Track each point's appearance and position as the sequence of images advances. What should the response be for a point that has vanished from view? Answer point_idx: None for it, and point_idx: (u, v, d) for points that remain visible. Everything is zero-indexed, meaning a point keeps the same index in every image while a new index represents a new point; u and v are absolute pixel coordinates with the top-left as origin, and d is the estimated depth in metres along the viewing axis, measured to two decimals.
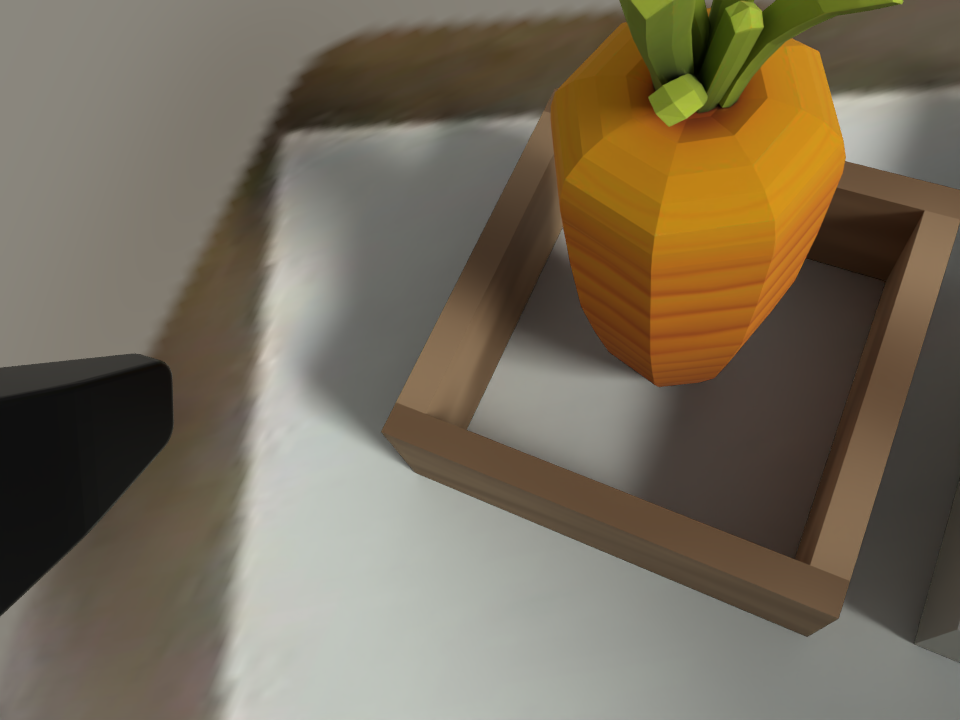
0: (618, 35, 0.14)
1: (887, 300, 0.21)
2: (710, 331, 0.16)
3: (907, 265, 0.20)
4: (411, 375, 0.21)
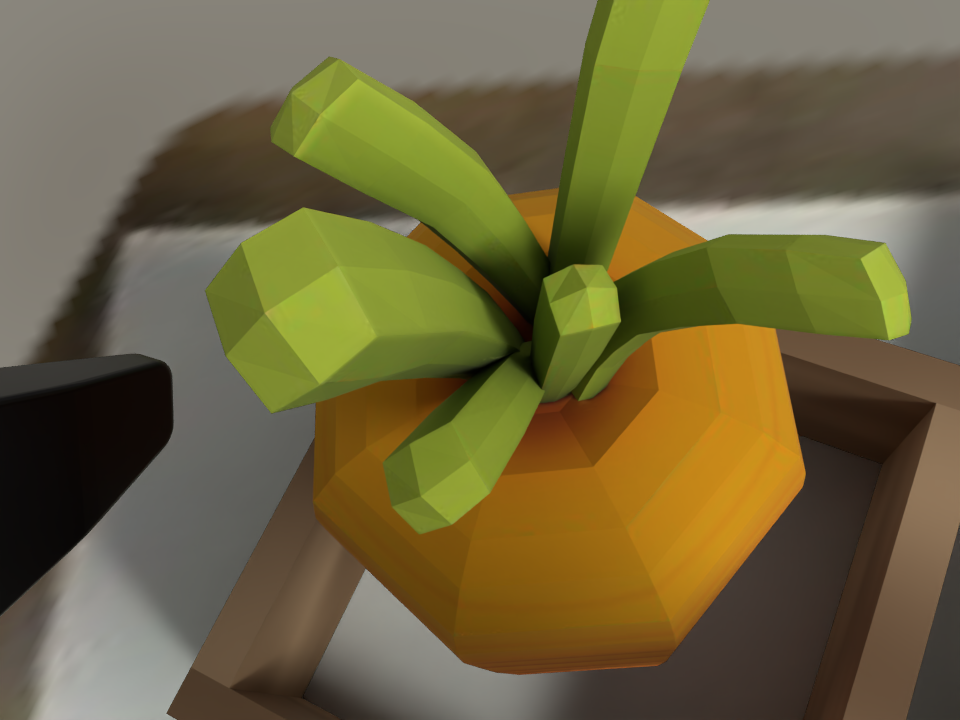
0: (420, 237, 0.08)
1: (883, 515, 0.15)
2: (602, 667, 0.10)
3: (912, 487, 0.14)
4: (216, 625, 0.15)
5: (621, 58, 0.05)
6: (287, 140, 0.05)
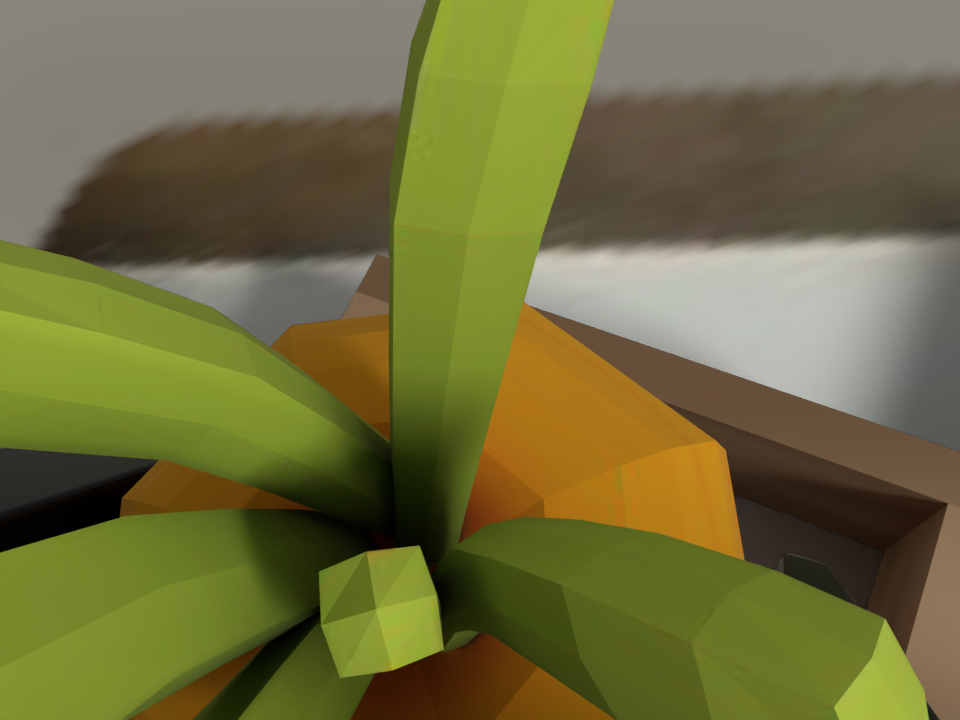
0: None
1: None
2: None
3: (919, 607, 0.12)
4: None
5: (436, 218, 0.03)
6: None
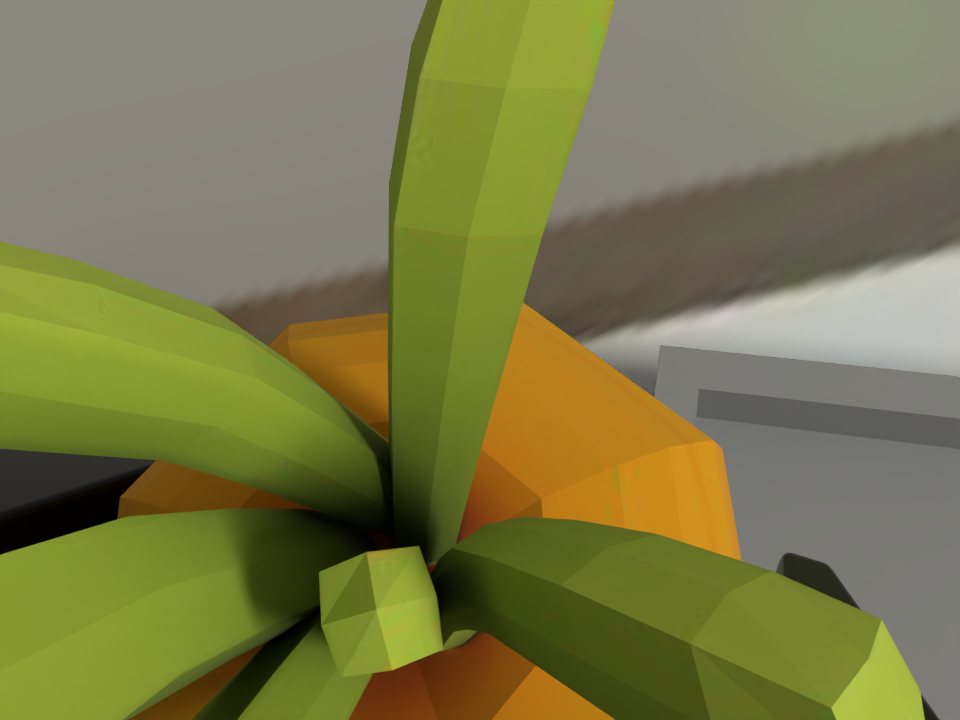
0: None
1: None
2: None
3: None
4: None
5: (436, 219, 0.03)
6: None
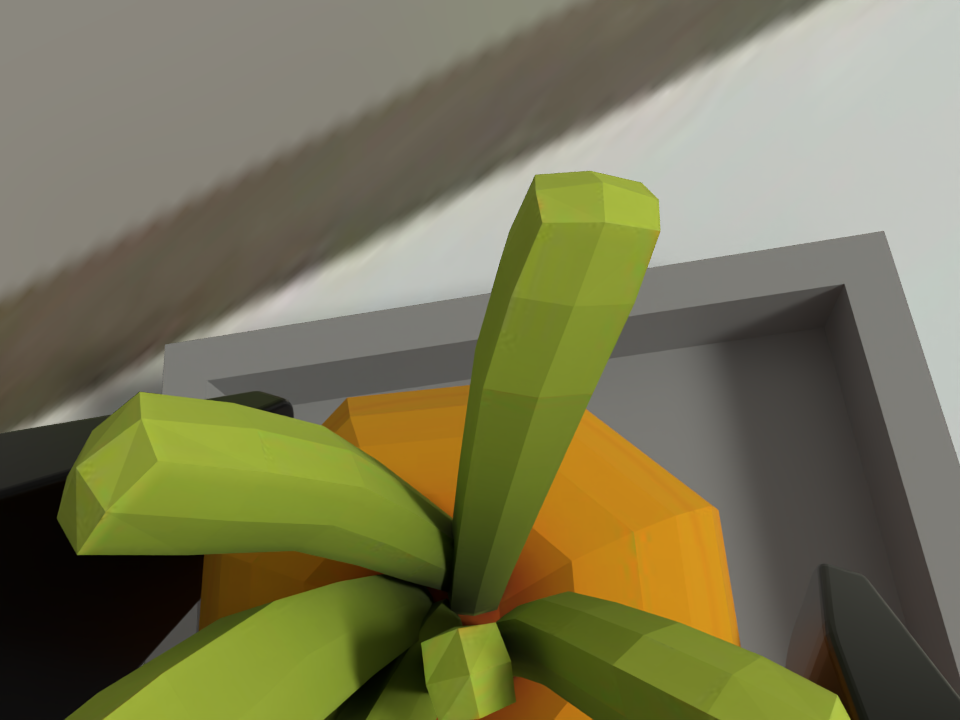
0: None
1: None
2: None
3: None
4: None
5: (516, 386, 0.04)
6: (71, 529, 0.04)
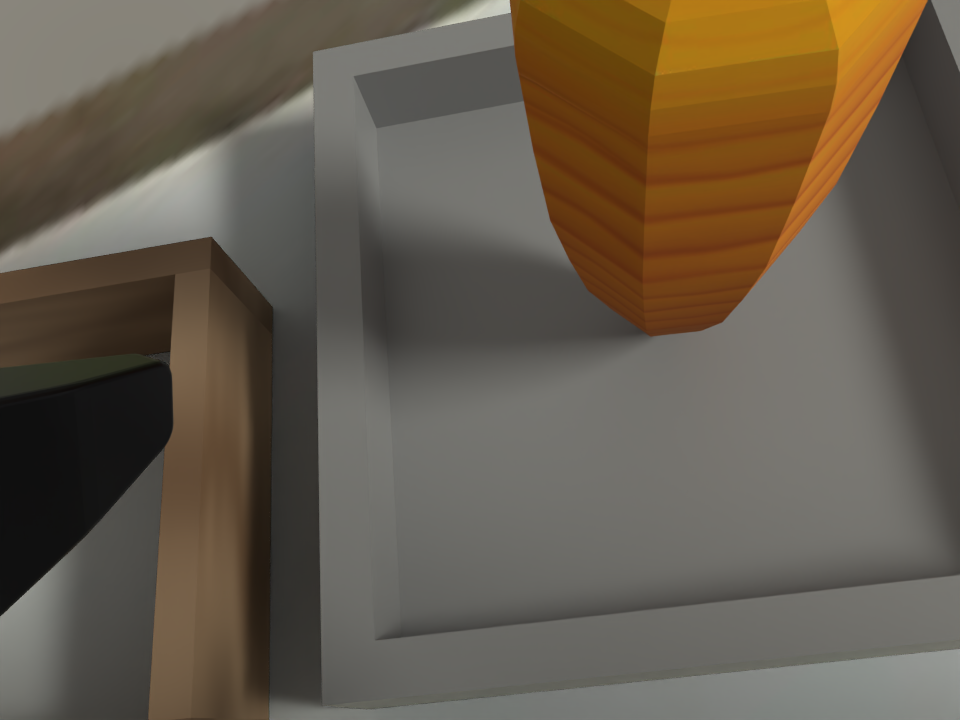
0: None
1: None
2: (726, 246, 0.12)
3: (172, 339, 0.18)
4: None
5: None
6: None
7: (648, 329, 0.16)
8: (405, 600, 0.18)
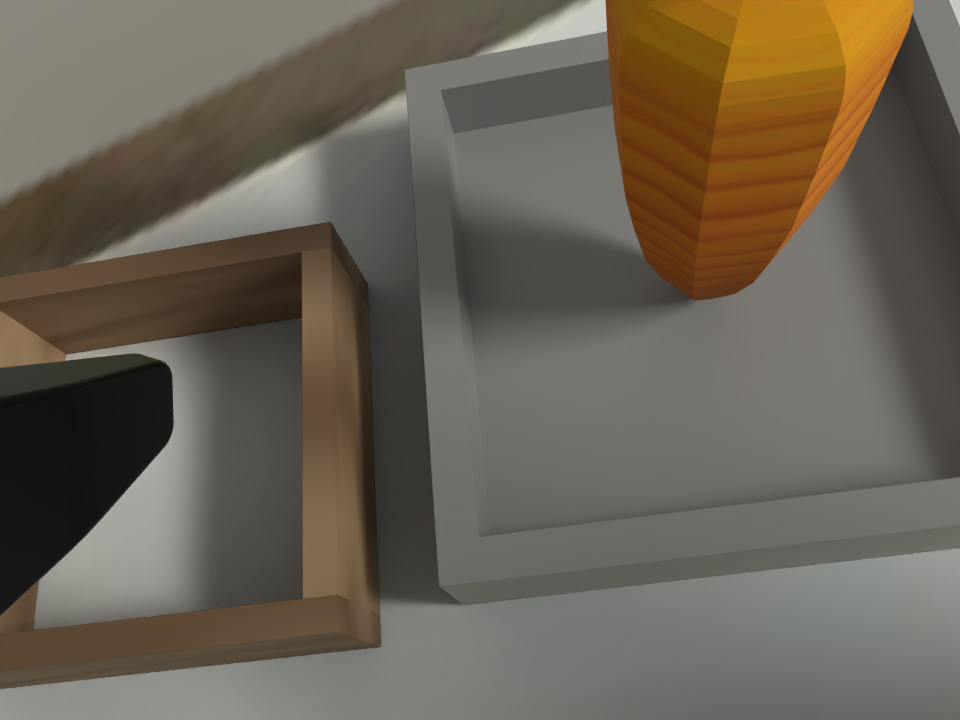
0: None
1: None
2: (762, 211, 0.16)
3: (303, 304, 0.22)
4: None
5: None
6: None
7: (695, 288, 0.20)
8: (493, 515, 0.22)
